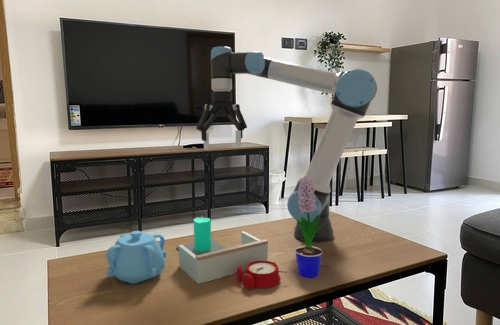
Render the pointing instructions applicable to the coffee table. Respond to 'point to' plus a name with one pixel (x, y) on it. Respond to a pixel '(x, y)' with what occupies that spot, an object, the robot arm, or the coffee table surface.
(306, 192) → the hyacinth
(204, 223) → the candle
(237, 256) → the white u-shaped frame
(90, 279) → the coffee table surface
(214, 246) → the slate tile
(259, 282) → the alarm clock
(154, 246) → the decorative pot
